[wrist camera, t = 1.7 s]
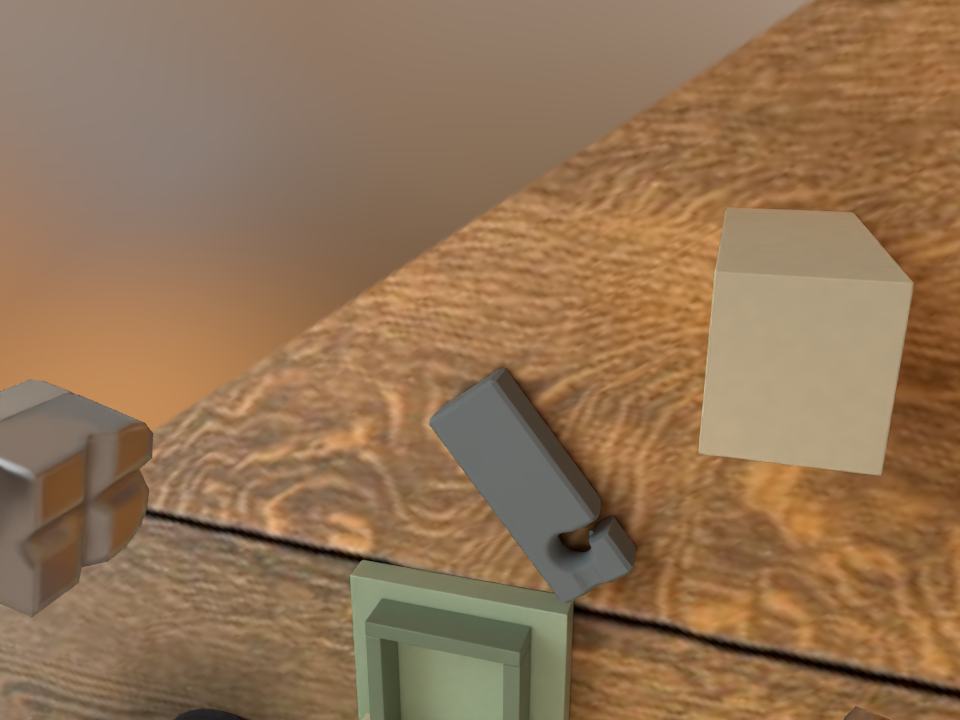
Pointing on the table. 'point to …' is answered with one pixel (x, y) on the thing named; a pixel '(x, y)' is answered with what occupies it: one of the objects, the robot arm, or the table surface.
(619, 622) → the table surface
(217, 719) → the pitcher
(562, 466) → the bracket
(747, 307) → the beige rectangular block
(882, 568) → the table surface
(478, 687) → the base
